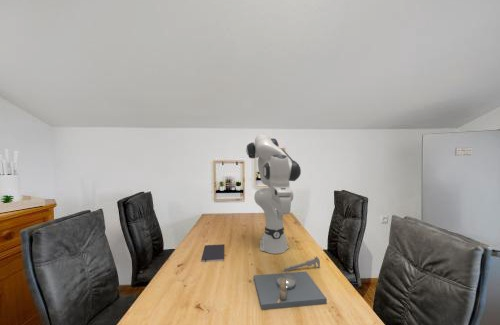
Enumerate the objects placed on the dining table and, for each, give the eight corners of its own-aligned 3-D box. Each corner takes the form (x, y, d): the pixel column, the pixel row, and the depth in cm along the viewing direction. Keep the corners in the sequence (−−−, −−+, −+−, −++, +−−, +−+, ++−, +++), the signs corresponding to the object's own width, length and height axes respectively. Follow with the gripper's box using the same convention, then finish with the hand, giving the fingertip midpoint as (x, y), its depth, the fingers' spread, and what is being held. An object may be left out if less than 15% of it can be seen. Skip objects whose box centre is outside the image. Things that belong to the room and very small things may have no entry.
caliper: (319, 267, 115) (318, 255, 115) (320, 268, 114) (319, 256, 114) (281, 271, 112) (281, 258, 112) (282, 272, 111) (282, 259, 110)
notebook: (224, 261, 123) (224, 246, 144) (224, 258, 123) (224, 244, 144) (201, 262, 122) (204, 247, 143) (201, 260, 122) (204, 245, 143)
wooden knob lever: (278, 277, 101) (278, 262, 100) (295, 280, 98) (295, 264, 98) (272, 298, 86) (272, 280, 86) (293, 301, 84) (293, 283, 84)
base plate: (253, 279, 103) (253, 274, 103) (306, 275, 107) (306, 271, 107) (261, 310, 82) (261, 304, 82) (326, 303, 86) (326, 298, 86)
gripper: (268, 186, 111) (268, 214, 111) (278, 193, 90) (278, 226, 91) (280, 186, 112) (280, 213, 112) (293, 192, 91) (293, 225, 91)
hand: (279, 219), depth 101 cm, fingers closed
